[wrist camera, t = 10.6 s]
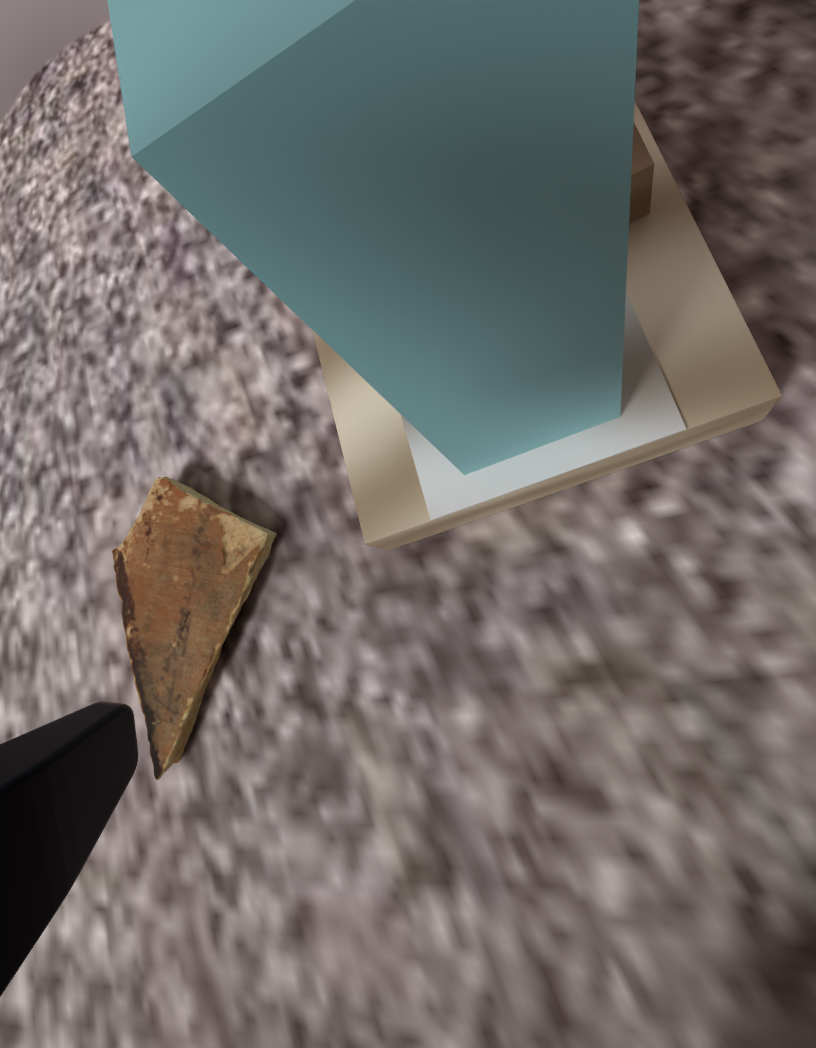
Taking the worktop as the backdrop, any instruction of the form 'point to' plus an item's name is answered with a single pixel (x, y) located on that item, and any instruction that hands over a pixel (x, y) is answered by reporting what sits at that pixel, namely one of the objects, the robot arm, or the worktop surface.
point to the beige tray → (636, 436)
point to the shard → (182, 603)
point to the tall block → (413, 189)
